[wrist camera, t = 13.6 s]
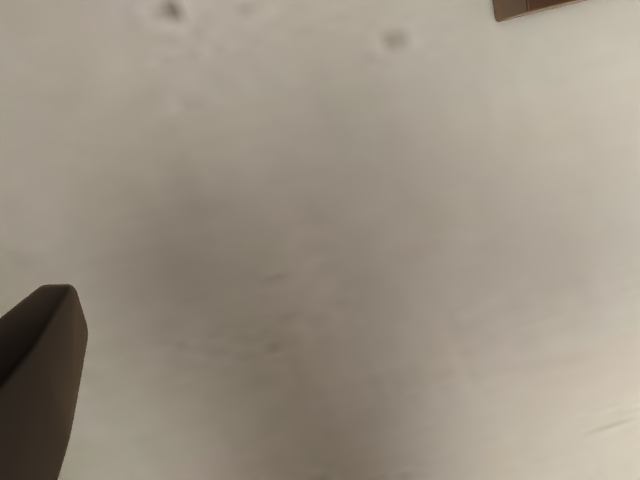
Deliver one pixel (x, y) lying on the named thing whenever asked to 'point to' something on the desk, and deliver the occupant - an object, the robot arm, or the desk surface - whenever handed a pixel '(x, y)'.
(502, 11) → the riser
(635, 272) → the desk surface
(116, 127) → the desk surface
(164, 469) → the desk surface
